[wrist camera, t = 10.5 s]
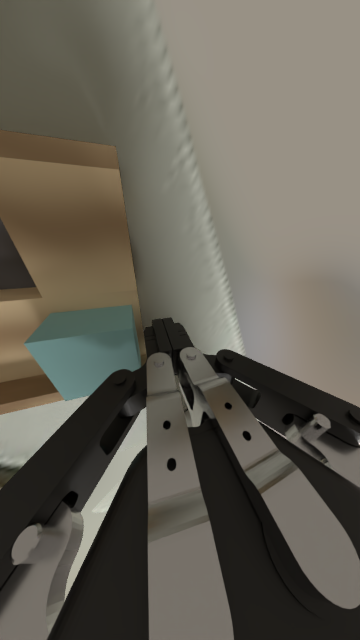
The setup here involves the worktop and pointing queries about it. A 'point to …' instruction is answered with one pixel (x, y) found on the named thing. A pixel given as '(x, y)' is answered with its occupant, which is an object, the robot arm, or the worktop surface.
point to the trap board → (57, 250)
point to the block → (85, 348)
